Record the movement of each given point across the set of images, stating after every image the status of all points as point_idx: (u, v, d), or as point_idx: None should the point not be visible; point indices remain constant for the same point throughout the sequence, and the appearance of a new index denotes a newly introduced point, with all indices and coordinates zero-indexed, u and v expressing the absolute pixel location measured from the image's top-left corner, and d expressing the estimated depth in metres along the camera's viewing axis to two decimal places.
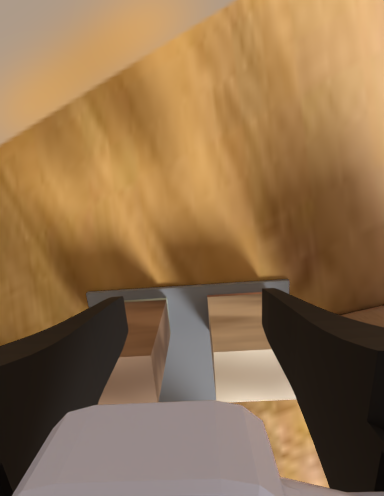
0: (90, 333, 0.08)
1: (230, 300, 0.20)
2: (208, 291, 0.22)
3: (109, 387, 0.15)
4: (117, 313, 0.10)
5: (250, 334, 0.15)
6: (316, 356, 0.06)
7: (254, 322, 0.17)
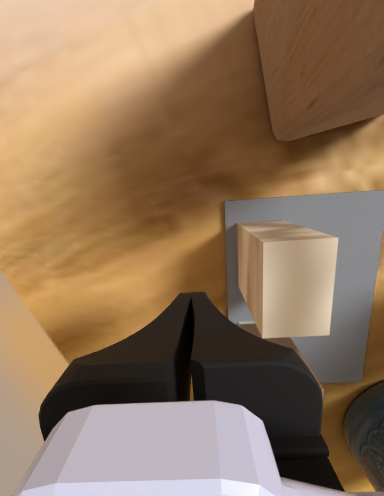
0: (185, 328, 0.08)
1: (240, 268, 0.19)
2: (233, 283, 0.21)
3: None
4: (191, 309, 0.10)
5: (255, 287, 0.14)
6: None
7: (250, 270, 0.15)
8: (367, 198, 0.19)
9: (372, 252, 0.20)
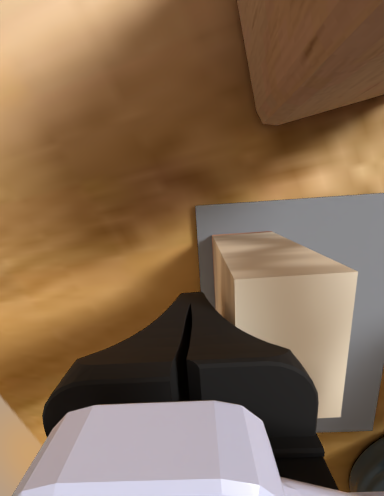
0: (187, 328, 0.08)
1: (216, 295, 0.15)
2: None
3: None
4: None
5: None
6: None
7: (223, 307, 0.11)
8: None
9: None
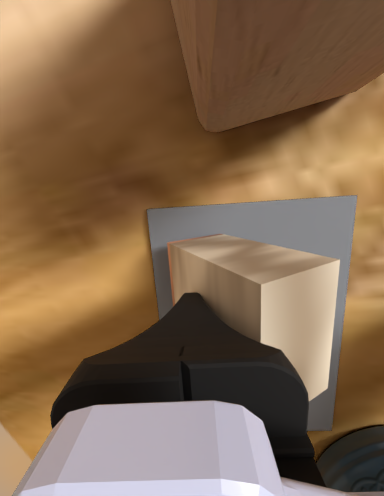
0: None
1: None
2: (166, 311, 0.17)
3: None
4: None
5: None
6: None
7: None
8: (330, 206, 0.15)
9: (339, 275, 0.16)
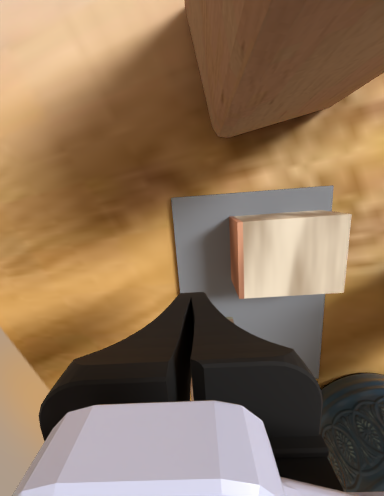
0: (185, 328, 0.08)
1: (255, 272, 0.17)
2: (185, 280, 0.21)
3: None
4: (191, 309, 0.10)
5: (325, 260, 0.16)
6: None
7: (306, 253, 0.16)
8: (313, 194, 0.19)
9: None
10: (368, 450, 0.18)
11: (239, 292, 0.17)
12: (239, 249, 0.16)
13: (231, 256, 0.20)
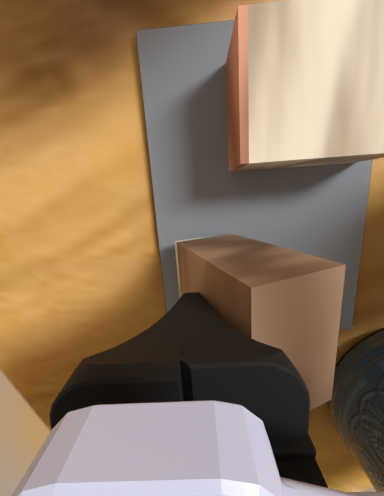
0: None
1: (267, 111, 0.10)
2: (160, 174, 0.14)
3: (305, 352, 0.08)
4: None
5: None
6: None
7: (358, 71, 0.09)
8: None
9: None
10: None
11: (240, 152, 0.10)
12: (241, 64, 0.09)
13: (229, 126, 0.13)
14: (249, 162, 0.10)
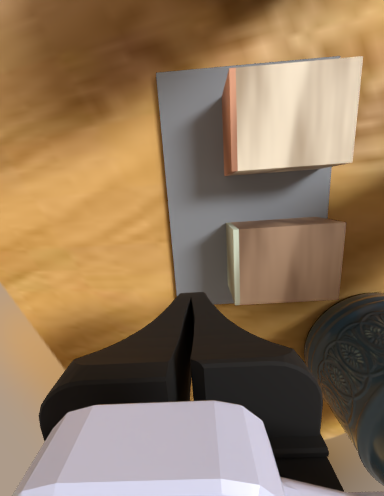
0: (185, 328, 0.08)
1: (250, 136, 0.14)
2: (172, 177, 0.19)
3: None
4: (191, 309, 0.10)
5: (331, 119, 0.14)
6: None
7: (309, 110, 0.14)
8: None
9: None
10: (379, 352, 0.16)
11: (232, 163, 0.15)
12: (231, 105, 0.14)
13: (224, 142, 0.17)
14: (238, 170, 0.15)
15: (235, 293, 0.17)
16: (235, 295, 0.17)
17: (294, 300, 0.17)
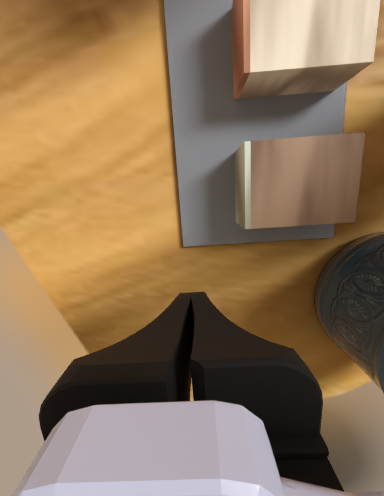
0: (185, 328, 0.08)
1: (264, 31, 0.13)
2: (179, 101, 0.18)
3: None
4: (191, 309, 0.10)
5: (352, 11, 0.13)
6: None
7: None
8: None
9: None
10: None
11: (244, 64, 0.14)
12: None
13: (234, 57, 0.16)
14: (250, 71, 0.14)
15: (246, 215, 0.16)
16: (246, 218, 0.16)
17: (308, 223, 0.16)
